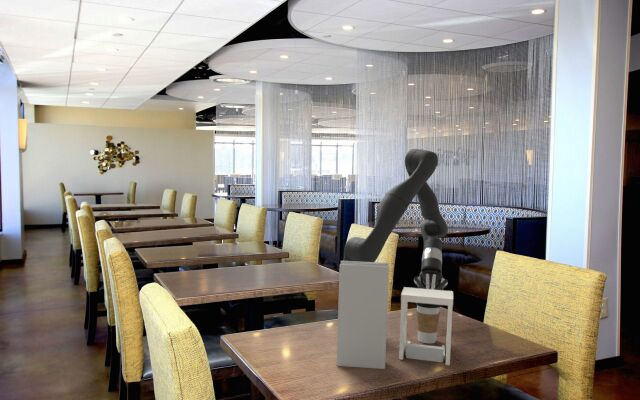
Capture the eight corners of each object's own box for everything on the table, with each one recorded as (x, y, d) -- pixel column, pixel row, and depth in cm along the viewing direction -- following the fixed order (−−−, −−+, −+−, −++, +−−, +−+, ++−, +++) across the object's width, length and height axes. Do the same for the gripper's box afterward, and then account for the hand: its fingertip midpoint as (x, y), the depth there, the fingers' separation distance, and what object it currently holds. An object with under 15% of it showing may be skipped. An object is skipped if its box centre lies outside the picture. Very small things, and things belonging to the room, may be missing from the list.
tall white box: (384, 361, 154) (388, 262, 152) (385, 368, 149) (389, 266, 146) (337, 358, 155) (340, 260, 153) (336, 365, 150) (339, 264, 148)
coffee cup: (440, 338, 176) (442, 295, 175) (438, 346, 168) (440, 301, 167) (416, 335, 179) (418, 292, 178) (412, 342, 171) (414, 298, 170)
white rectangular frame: (398, 359, 156) (401, 294, 155) (402, 344, 169) (404, 285, 167) (450, 365, 153) (453, 299, 151) (450, 350, 165) (452, 289, 164)
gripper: (414, 255, 196) (410, 294, 185) (449, 257, 193) (448, 297, 182) (414, 266, 202) (411, 305, 191) (449, 269, 198) (447, 308, 187)
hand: (429, 301), depth 186 cm, fingers closed
